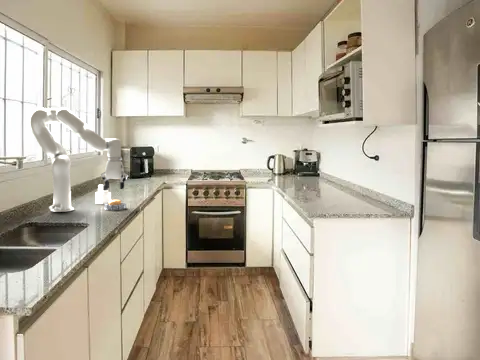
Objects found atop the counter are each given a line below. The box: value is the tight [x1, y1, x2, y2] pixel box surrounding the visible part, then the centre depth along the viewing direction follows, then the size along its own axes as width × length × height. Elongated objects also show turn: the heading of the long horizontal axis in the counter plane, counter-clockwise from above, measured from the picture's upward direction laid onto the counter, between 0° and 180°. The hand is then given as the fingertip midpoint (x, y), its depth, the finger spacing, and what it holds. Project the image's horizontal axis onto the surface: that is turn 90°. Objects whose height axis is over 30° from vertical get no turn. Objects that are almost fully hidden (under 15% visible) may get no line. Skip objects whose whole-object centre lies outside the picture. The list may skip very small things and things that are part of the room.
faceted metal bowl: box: [103, 201, 127, 211], centre depth 282 cm, size 13×13×3 cm
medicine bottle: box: [95, 184, 112, 205], centre depth 303 cm, size 7×7×12 cm
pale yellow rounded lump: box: [109, 199, 122, 205], centre depth 282 cm, size 7×7×4 cm
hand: (114, 188), depth 281 cm, fingers open, 9 cm apart
